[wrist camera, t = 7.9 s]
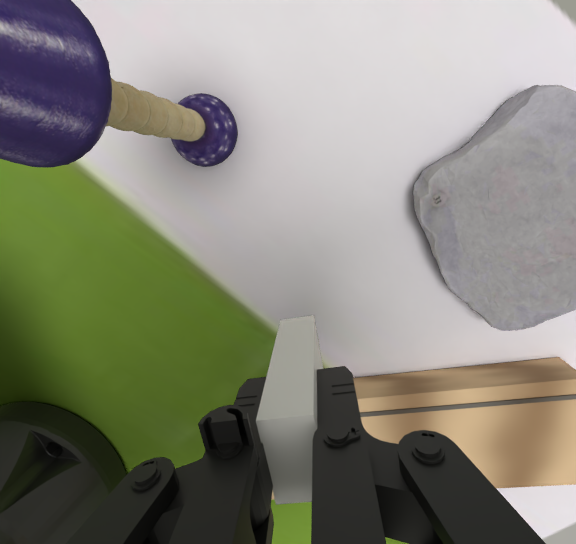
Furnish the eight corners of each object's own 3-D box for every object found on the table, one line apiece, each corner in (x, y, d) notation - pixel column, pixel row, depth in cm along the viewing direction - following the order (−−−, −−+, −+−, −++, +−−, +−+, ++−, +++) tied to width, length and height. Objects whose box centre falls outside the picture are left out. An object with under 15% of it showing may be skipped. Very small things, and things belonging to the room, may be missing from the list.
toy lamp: (218, 186, 22) (-54, 206, 6) (154, 152, 22) (-288, 86, 6) (248, 114, 21) (-1, -90, 5) (181, 78, 21) (-299, -251, 5)
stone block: (478, 319, 25) (641, 243, 20) (496, 356, 21) (706, 270, 16) (383, 188, 24) (535, 77, 19) (381, 199, 19) (575, 59, 15)
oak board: (267, 472, 28) (261, 500, 26) (246, 388, 26) (238, 410, 24) (557, 454, 25) (583, 485, 22) (559, 357, 23) (587, 379, 20)
